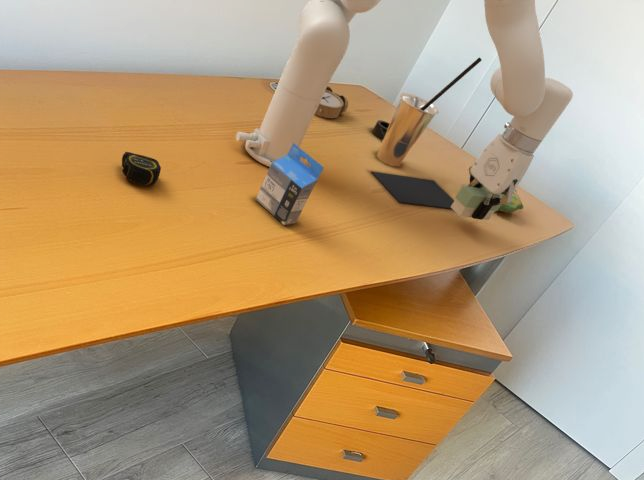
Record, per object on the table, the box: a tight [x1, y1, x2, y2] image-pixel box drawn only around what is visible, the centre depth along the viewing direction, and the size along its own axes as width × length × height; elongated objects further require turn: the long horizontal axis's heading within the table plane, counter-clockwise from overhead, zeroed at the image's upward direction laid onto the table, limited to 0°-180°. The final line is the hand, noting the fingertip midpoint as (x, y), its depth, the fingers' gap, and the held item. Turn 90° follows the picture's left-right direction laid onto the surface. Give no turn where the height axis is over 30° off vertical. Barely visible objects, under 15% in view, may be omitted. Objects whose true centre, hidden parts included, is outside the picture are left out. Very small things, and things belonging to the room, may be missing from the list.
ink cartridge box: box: [255, 143, 325, 226], centre depth 132 cm, size 9×4×12 cm, turn 37°
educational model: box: [482, 186, 524, 214], centre depth 176 cm, size 13×16×6 cm
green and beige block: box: [451, 185, 502, 221], centre depth 157 cm, size 10×4×6 cm, turn 109°
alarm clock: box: [314, 85, 349, 119], centre depth 189 cm, size 11×5×15 cm
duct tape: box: [371, 119, 390, 141], centre depth 188 cm, size 8×10×3 cm
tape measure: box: [121, 151, 162, 186], centre depth 126 cm, size 7×7×4 cm
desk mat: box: [370, 170, 455, 210], centre depth 167 cm, size 20×13×1 cm, turn 109°
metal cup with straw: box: [376, 57, 483, 168], centre depth 167 cm, size 11×11×30 cm
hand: (471, 211), depth 158 cm, fingers closed on green and beige block, 4 cm apart
